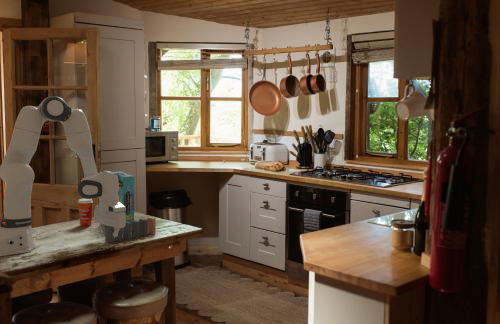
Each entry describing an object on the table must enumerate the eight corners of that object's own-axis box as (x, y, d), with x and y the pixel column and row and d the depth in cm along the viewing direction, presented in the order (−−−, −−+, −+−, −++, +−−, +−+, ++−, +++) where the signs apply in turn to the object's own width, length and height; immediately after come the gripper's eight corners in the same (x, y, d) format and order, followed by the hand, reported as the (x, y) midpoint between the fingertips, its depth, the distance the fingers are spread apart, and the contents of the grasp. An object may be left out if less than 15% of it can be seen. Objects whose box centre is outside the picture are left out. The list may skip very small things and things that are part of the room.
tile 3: (128, 239, 264) (128, 223, 263) (122, 238, 267) (122, 221, 266) (131, 239, 265) (131, 222, 264) (125, 237, 268) (125, 221, 267)
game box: (111, 220, 306) (110, 171, 303) (122, 219, 310) (121, 171, 307) (123, 227, 289) (122, 176, 286) (134, 226, 292) (134, 175, 289)
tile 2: (119, 241, 260) (119, 225, 259) (114, 240, 263) (114, 223, 262) (122, 241, 262) (122, 224, 261) (117, 239, 264) (116, 223, 263)
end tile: (153, 234, 275) (153, 218, 275) (147, 233, 278) (147, 217, 277) (155, 233, 277) (155, 218, 276) (149, 232, 280) (149, 216, 279)
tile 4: (136, 237, 268) (136, 221, 267) (131, 236, 271) (131, 220, 270) (139, 237, 269) (139, 221, 268) (133, 235, 272) (133, 219, 271)
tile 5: (145, 236, 272) (145, 220, 271) (139, 234, 274) (139, 218, 274) (147, 235, 273) (147, 219, 272) (142, 234, 276) (141, 218, 275)
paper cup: (75, 226, 290) (74, 200, 288) (84, 223, 297) (83, 197, 296) (87, 227, 287) (87, 201, 286) (96, 224, 294) (96, 199, 293)
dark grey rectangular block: (111, 243, 257) (110, 226, 256) (105, 241, 259) (105, 225, 259) (113, 242, 258) (113, 226, 257) (108, 241, 261) (108, 224, 260)
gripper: (90, 203, 261) (90, 232, 262) (116, 209, 248) (116, 239, 249) (101, 201, 266) (102, 229, 267) (128, 207, 253) (128, 237, 254)
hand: (109, 234), depth 258 cm, fingers open, 8 cm apart
